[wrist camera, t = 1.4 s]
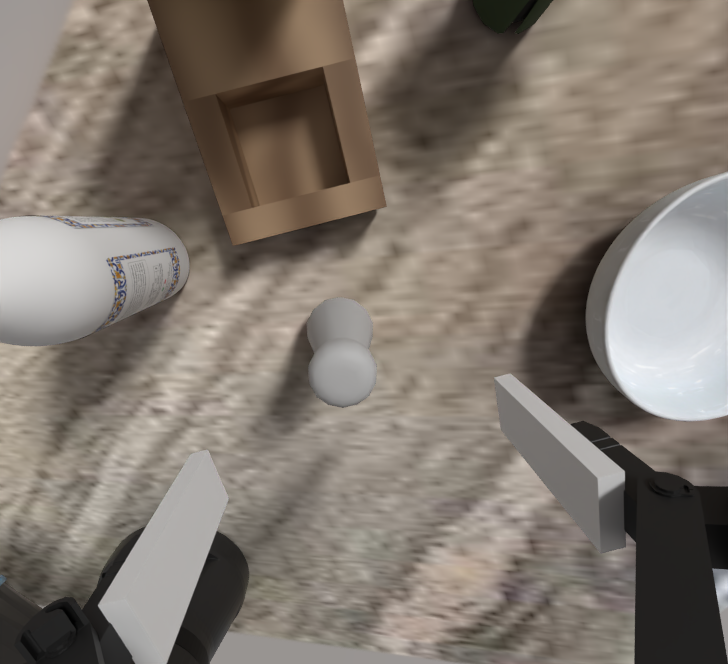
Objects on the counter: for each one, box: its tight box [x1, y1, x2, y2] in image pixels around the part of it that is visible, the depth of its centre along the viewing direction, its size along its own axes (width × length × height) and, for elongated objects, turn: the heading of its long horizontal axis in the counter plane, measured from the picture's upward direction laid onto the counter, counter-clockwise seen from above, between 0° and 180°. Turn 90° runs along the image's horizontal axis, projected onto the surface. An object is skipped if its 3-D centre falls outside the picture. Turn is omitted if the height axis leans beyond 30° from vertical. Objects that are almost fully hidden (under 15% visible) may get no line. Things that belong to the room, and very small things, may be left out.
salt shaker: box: [307, 297, 377, 408], centre depth 28 cm, size 6×6×13 cm
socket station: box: [147, 0, 387, 246], centre depth 20 cm, size 12×17×17 cm
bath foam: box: [0, 215, 189, 346], centre depth 21 cm, size 7×7×20 cm
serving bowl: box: [586, 172, 728, 421], centre depth 32 cm, size 21×21×7 cm
